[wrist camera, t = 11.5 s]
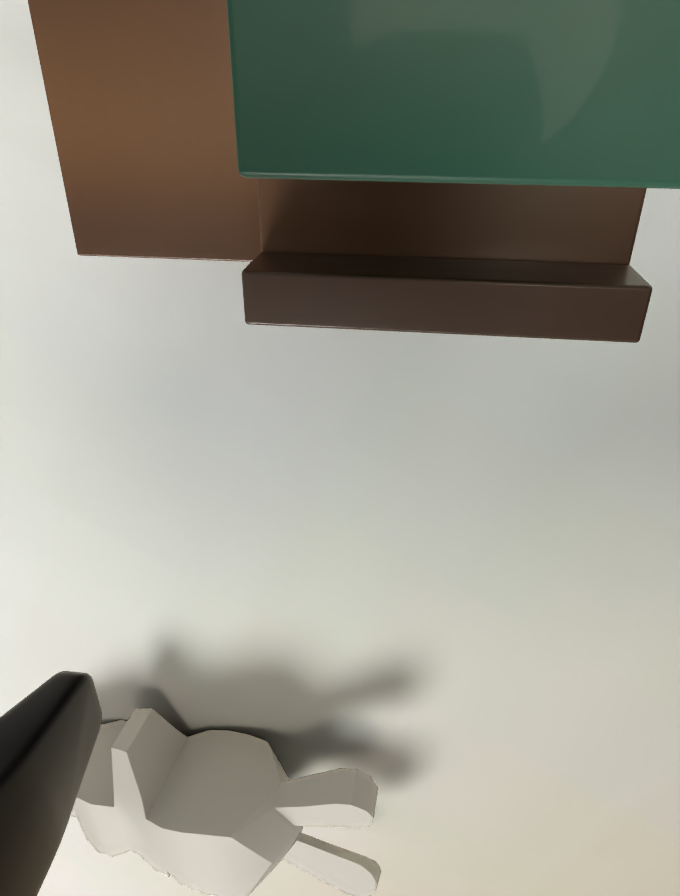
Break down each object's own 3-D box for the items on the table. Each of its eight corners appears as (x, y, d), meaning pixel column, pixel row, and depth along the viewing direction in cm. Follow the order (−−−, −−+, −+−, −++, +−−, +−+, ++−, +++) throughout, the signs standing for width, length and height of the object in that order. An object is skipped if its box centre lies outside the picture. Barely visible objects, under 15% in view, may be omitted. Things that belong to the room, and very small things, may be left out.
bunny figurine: (2, 758, 26) (360, 838, 23) (75, 661, 31) (387, 716, 27) (63, 881, 31) (368, 964, 27) (119, 783, 35) (390, 843, 32)
